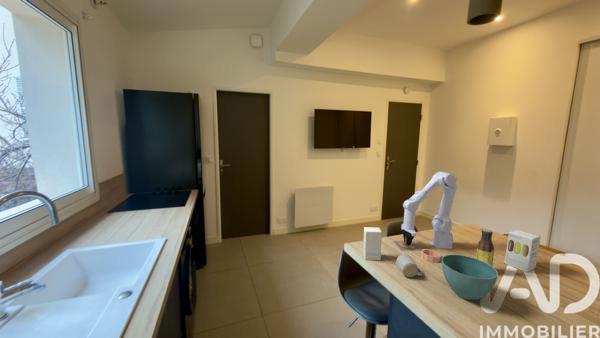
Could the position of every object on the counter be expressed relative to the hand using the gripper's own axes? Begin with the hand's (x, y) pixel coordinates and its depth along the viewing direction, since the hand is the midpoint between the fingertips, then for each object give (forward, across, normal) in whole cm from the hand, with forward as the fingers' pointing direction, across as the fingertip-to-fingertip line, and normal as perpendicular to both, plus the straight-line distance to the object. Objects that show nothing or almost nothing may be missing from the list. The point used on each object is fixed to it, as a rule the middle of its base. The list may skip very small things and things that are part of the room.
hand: (407, 243), depth 136 cm
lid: (+2, 0, 0) cm, 2 cm away
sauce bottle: (+2, +24, +26) cm, 35 cm away
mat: (+2, 0, 0) cm, 2 cm away
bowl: (+2, +14, +6) cm, 15 cm away
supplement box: (+2, +19, +48) cm, 52 cm away
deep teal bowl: (+2, +42, +5) cm, 42 cm away
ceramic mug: (+2, +28, -11) cm, 30 cm away
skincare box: (+2, +14, -25) cm, 29 cm away
